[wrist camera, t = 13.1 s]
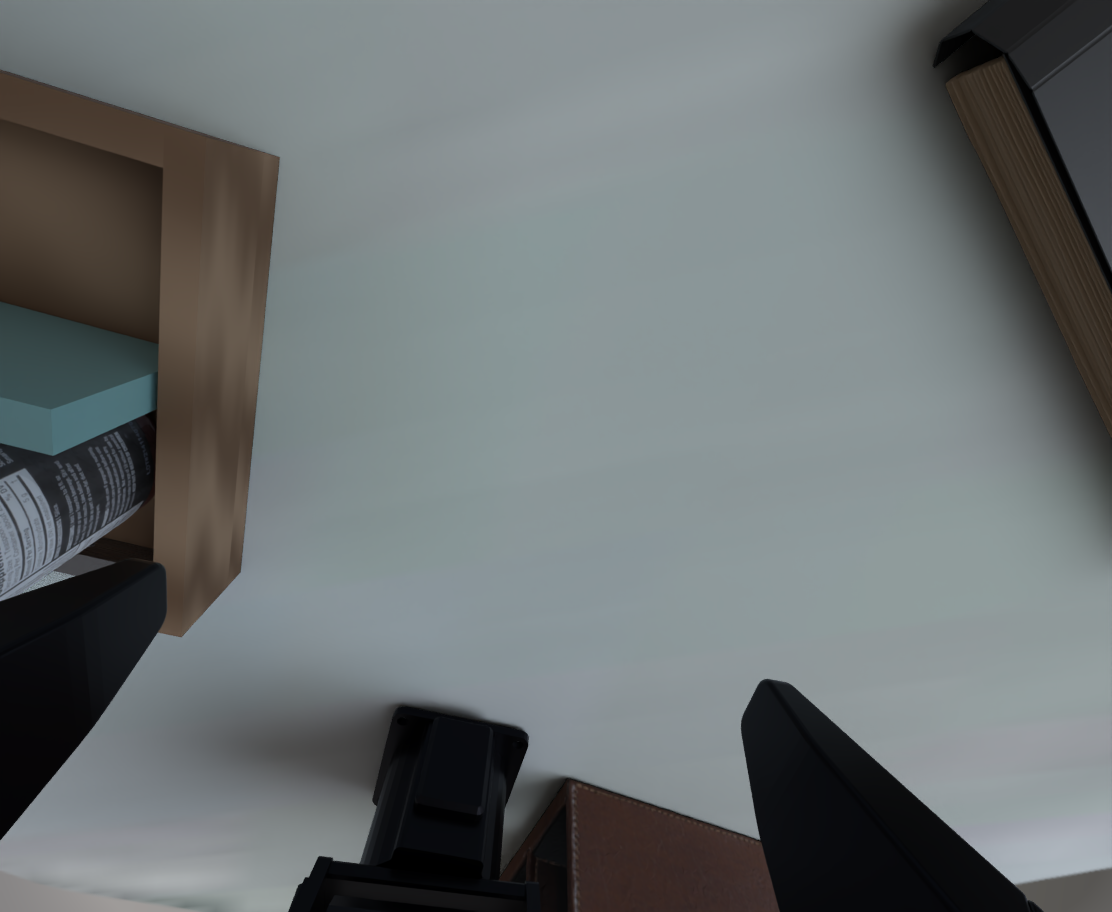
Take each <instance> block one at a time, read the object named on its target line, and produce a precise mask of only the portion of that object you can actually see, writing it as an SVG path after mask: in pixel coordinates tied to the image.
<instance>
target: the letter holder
mask: <svg viewBox="0 0 1112 912" xmlns="http://www.w3.org/2000/svg"><path fill="white" fill-rule="evenodd" d="M499 880H500V881H508V882H516V883H525V881H531V882H539V890H540V906H541V912H780V911H779V907H778V904H777V900H776V896H775V893H774V889H773V885H772V881H771V878H770V874H769V870H768V867H767V863H766V859H765V855H764V852H763V847H762V843H761V841H758V840H755V839H752V838H749V837H746V836H744V835H740V834H737V833H734V832H731V831H728V830H724V829H722V828H719V827H716V826H713V825H710V824H707V823H703V822H701V821H697V820H695V819H692V818H689V817H685V816H682V815H679V814H676V813H674V812H671V811H669V810H664V809H662V808H658V807H656V806H653V805H648V804H646V803H643V802H640V801H637V800H634V799H630V798H628V797H624V796H621V795H618V794H614V793H612V792H609V791H606V790H603V789H600V788H597V787H594V786H591V785H588V784H585V783H581V782H578V781H576V780H573V779H567V780H566V782H565V784H564V785H563V787H562V788H561V790H560V791H559V793H558V794H557V795H556V797H555V798H554V800H553V801H552V803H551V804H550V805H549V807H548V808H547V810H546V811H545V813H544V814H543V816H542V817H541V819H540V820H539V821H538V823H537V824H536V826H535V827H534V829H533V830H532V831H531V833H530V834H529V836H528V837H527V839H526V840H525V842H524V843H523V845H522V846H521V847H520V849H519V850H518V852H517V853H516V854H515V856H514V857H513V859H512V860H511V862H510V863H509V864H508V866H507V868H506V869H505V871H504V872H503V874H502V875H501V877H500V878H499Z"/></svg>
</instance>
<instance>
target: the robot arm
mask: <svg viewBox="0 0 1112 912" xmlns="http://www.w3.org/2000/svg"><path fill="white" fill-rule="evenodd" d="M166 614H167V577H166V569H165V567H164V566H163V565H162V564H160V563H158V562H153V561H147V560H142V559H136V558H130V559H126V560H123V561H120V562H117V563H114V564H111V565H108V566H105V567H102V568H99V569H96V570H93V571H90V572H87V573H84V574H81V575H78V576H75V577H72V578H69V579H65V580H62V581H59V582H56V583H53V584H50V585H47V586H44V587H41V588H38V589H35V590H32V591H29V592H26V593H23V594H20V595H17V596H14V597H11V598H8V599H5V600H2V601H0V840H1V839H2V838H3V837H4V835H5V834H6V833H7V832H8V831H9V829H10V828H11V827H12V826H13V825H14V823H15V822H16V821H17V820H18V818H19V817H20V816H21V815H22V814H23V812H24V811H25V810H26V809H27V808H28V806H29V805H30V804H31V803H32V801H33V800H34V799H35V798H36V797H37V795H38V794H39V793H40V792H41V791H42V789H43V788H44V787H45V786H46V784H47V783H48V782H49V781H50V780H51V778H52V777H53V776H54V775H55V774H56V772H57V771H58V770H59V769H60V768H61V766H62V765H63V764H64V763H65V761H66V760H67V759H68V758H69V757H70V755H71V754H72V753H73V752H74V751H75V749H76V748H77V747H78V746H79V744H80V743H81V742H82V741H83V739H84V738H85V737H86V736H87V734H88V733H89V732H90V731H91V729H92V728H93V727H94V725H95V724H96V722H97V721H98V720H99V718H100V717H101V715H102V714H103V713H104V711H105V710H106V708H107V707H108V705H109V704H110V702H111V701H112V699H113V698H114V697H115V695H116V694H117V692H118V691H119V689H120V688H121V686H122V685H123V683H124V682H125V680H126V679H127V677H128V676H129V674H130V673H131V671H132V670H133V668H134V667H135V665H136V664H137V662H138V661H139V660H140V658H141V657H142V655H143V654H144V652H145V651H146V649H147V648H148V646H149V645H150V643H151V642H152V640H153V639H154V637H155V636H156V634H157V633H158V631H159V630H160V628H161V627H162V625H163V623H164V621H165V618H166ZM402 717H404V718H402ZM741 734H742V740H743V745H744V751H745V757H746V763H747V769H748V775H749V781H750V786H751V792H752V798H753V804H754V810H755V816H756V821H757V826H758V831H759V835H760V839H761V843H762V847H763V852H764V855H765V859H766V863H767V867H768V870H769V874H770V878H771V881H772V885H773V889H774V893H775V896H776V900H777V904H778V907H779V911H780V912H1044V911H1043V910H1042V909H1041V908H1039V907H1038V906H1037V905H1036V904H1035V903H1034V902H1032V901H1030V900H1027V899H1026V896H1025V895H1024V894H1023V892H1021V891H1020V890H1019V889H1018V888H1017V887H1016V886H1015V885H1014V884H1013V883H1011V882H1010V881H1009V880H1008V879H1007V878H1006V877H1005V876H1004V875H1003V874H1001V873H1000V872H999V871H998V870H997V869H996V868H995V867H994V866H993V865H991V864H990V863H989V862H988V861H987V860H986V859H985V858H984V857H983V856H981V855H980V854H979V853H978V852H977V851H976V850H975V849H974V848H973V847H971V846H970V845H969V844H968V843H967V842H966V841H965V840H964V839H962V838H961V837H960V836H959V835H958V834H957V833H956V832H955V831H954V830H952V829H951V828H950V827H949V826H948V825H947V824H946V823H945V822H944V821H942V820H941V819H940V818H939V817H938V816H937V815H936V814H935V813H934V812H932V811H931V810H930V809H929V808H928V807H927V806H926V805H925V804H924V803H922V802H921V801H920V800H919V799H918V798H917V797H916V796H915V795H914V794H912V793H911V792H910V791H909V790H908V789H907V788H906V787H905V786H904V785H902V784H901V783H900V782H899V781H898V780H897V779H896V778H895V777H894V776H892V775H891V774H890V773H889V772H888V771H887V770H886V769H885V768H883V767H882V766H881V765H880V764H879V763H878V762H877V761H876V760H875V759H873V758H872V757H871V756H870V755H869V754H868V753H867V752H866V751H865V750H863V749H862V748H861V747H860V746H859V745H858V744H857V743H856V742H855V741H853V740H852V739H851V738H850V737H849V736H848V735H847V734H846V733H845V732H843V731H842V730H841V729H840V728H839V727H838V726H837V725H836V724H835V723H833V722H832V721H831V720H830V719H829V718H828V717H827V716H826V715H825V714H823V713H822V712H821V711H820V710H819V709H818V708H817V707H816V706H815V705H813V704H812V703H811V702H810V701H809V700H808V699H807V698H806V697H805V696H803V695H802V694H801V693H800V692H799V691H798V690H797V689H796V688H795V687H793V686H792V685H791V684H789V683H786V682H782V681H777V680H771V679H764V680H762V681H761V682H760V683H759V684H758V686H757V688H756V690H755V692H754V694H753V696H752V698H751V700H750V702H749V704H748V706H747V708H746V710H745V712H744V714H743V717H742V721H741ZM528 740H529V737H528V734H527V733H526V732H524V731H522V730H517V729H512V728H507V727H503V726H498V725H493V724H488V723H483V722H478V721H474V720H469V719H464V718H459V717H454V716H449V715H445V714H440V713H435V712H430V711H425V710H420V709H415V708H411V707H403V706H402V707H399V708H397V709H396V710H395V712H394V715H393V718H392V721H391V725H390V730H389V734H388V738H387V742H386V746H385V750H384V754H383V758H382V762H381V766H380V771H379V775H378V779H377V783H376V787H375V791H374V795H373V803H374V804H375V805H376V806H377V808H376V811H375V815H374V818H373V821H372V825H371V828H370V831H369V835H368V838H367V841H366V845H365V848H364V851H363V854H362V858H361V861H360V864H357V863H349V862H341V861H333V858H331V857H323V856H319V857H318V859H317V861H316V863H315V865H314V867H313V870H312V872H311V874H310V876H309V878H308V877H305V879H304V881H303V883H301V884H299V885H298V888H297V890H296V893H295V896H294V898H293V901H292V903H291V906H290V909H289V911H288V912H541V906H540V890H539V882H531V881H525V883H516V882H508V881H500V880H499V875H500V862H501V850H502V837H503V824H504V811H505V807H506V804H507V802H508V799H509V796H510V794H511V791H512V788H513V786H514V783H515V780H516V778H517V775H518V772H519V770H520V767H521V764H522V762H523V759H524V756H525V754H526V751H527V748H528ZM517 741H520V742H517Z"/></svg>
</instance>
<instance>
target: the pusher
mask: <svg viewBox="0 0 1112 912" xmlns="http://www.w3.org/2000/svg"><path fill="white" fill-rule="evenodd" d="M158 354H159V344H156V343H152V342H149V341H145V340H141V339H137V338H134V337H130V336H126V335H123V334H119V333H115V332H111V331H108V330H104V329H100V328H97V327H93V326H89V325H85V324H82V323H78V322H74V321H71V320H67V319H63V318H59V317H56V316H52V315H48V314H45V313H41V312H37V311H33V310H30V309H26V308H22V307H19V306H15V305H11V304H7V303H4V302H0V443H2V444H7V445H11V446H15V447H19V448H23V449H27V450H31V451H36V452H40V453H44V454H48V455H52V456H54V455H56V454H58V453H60V452H63V451H65V450H67V449H69V448H72V447H74V446H76V445H78V444H80V443H83V442H85V441H87V440H89V439H91V438H94V437H96V436H98V435H100V434H103V433H105V432H107V431H109V430H111V429H114V428H116V427H118V426H120V425H122V424H125V423H127V422H129V421H131V420H134V419H136V418H138V417H140V416H142V415H145V414H147V413H149V412H151V411H153V410H156V409H157V394H158Z"/></svg>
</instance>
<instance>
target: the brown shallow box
mask: <svg viewBox="0 0 1112 912" xmlns="http://www.w3.org/2000/svg"><path fill="white" fill-rule="evenodd" d="M279 159H280V157H277V156H274V155H270V154H267V153H264V152H261V151H258V150H254V149H251V148H248V147H245V146H242V145H239V144H235V143H232V142H229V141H226V140H223V139H219V138H216V137H213V136H210V135H207V134H204V133H200V132H197V131H194V130H191V129H188V128H184V127H181V126H178V125H175V124H172V123H169V122H165V121H162V120H159V119H156V118H153V117H149V116H146V115H143V114H140V113H137V112H134V111H130V110H127V109H124V108H121V107H118V106H115V105H111V104H108V103H105V102H102V101H99V100H95V99H92V98H89V97H86V96H83V95H80V94H76V93H73V92H70V91H67V90H64V89H60V88H57V87H54V86H51V85H48V84H45V83H41V82H38V81H35V80H32V79H29V78H25V77H22V76H19V75H16V74H13V73H10V72H6V71H3V70H0V302H4V303H7V304H11V305H15V306H19V307H22V308H26V309H30V310H33V311H37V312H41V313H45V314H48V315H52V316H56V317H59V318H63V319H67V320H71V321H74V322H78V323H82V324H85V325H89V326H93V327H97V328H100V329H104V330H108V331H111V332H115V333H119V334H123V335H126V336H130V337H134V338H137V339H141V340H145V341H149V342H152V343H156V344H159V354H158V394H157V409H156V410H153V411H151V412H149V413H148V414H149V416H150V417H151V418H152V420H153V421H154V423H155V425H156V426H157V434H156V475H155V495H154V497H153V498H152V499H151V500H150V501H149V502H148V503H147V504H146V505H145V506H143V507H142V508H141V509H139V510H138V511H136V512H135V513H134V514H133V515H132V516H130V517H129V518H128V519H127V520H125V521H124V522H123V523H121V524H120V525H118V526H117V527H115V528H114V529H113V530H111V531H110V532H108V533H107V534H106V535H104V536H102V537H101V538H100V539H98V540H97V541H95V542H94V543H92V544H94V546H91V547H86V548H85V549H84V550H82V551H81V552H79V553H78V554H76V555H75V556H74V557H72V558H71V559H69V560H68V561H66V562H65V563H64V564H62V565H61V566H60V567H58V568H56V569H55V570H54V571H57V572H61V573H66V574H71V575H75V576H78V575H81V574H84V573H87V572H90V571H93V570H96V569H99V568H102V567H105V566H108V565H111V564H114V563H117V562H120V561H123V560H126V559H130V558H136V559H142V560H147V561H153V562H158V563H160V564H162V565H163V566H164V567H165V569H166V577H167V614H166V618H165V621H164V623H163V625H162V627H161V628H160V630H159V631H158V632H159V633H163V634H168V635H173V636H178V637H182V636H183V635H184V634H185V633H186V632H187V631H188V629H189V628H190V627H191V626H192V625H193V624H194V623H195V622H196V621H197V620H198V618H199V617H200V616H201V615H202V614H203V613H204V612H205V611H206V610H207V608H208V607H209V606H210V605H211V604H212V603H213V602H214V601H215V600H216V599H217V597H218V596H219V595H220V594H221V593H222V592H223V591H224V590H225V589H226V588H227V586H228V585H229V584H230V583H231V582H232V581H233V580H234V579H235V578H236V577H237V575H238V574H239V573H240V572H241V561H242V551H243V540H244V530H245V519H246V508H247V498H248V487H249V477H250V466H251V455H252V445H253V434H254V424H255V413H256V403H257V392H258V381H259V371H260V360H261V350H262V339H263V329H264V318H265V307H266V297H267V286H268V276H269V265H270V255H271V244H272V233H273V223H274V212H275V202H276V191H277V181H278V170H279Z"/></svg>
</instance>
